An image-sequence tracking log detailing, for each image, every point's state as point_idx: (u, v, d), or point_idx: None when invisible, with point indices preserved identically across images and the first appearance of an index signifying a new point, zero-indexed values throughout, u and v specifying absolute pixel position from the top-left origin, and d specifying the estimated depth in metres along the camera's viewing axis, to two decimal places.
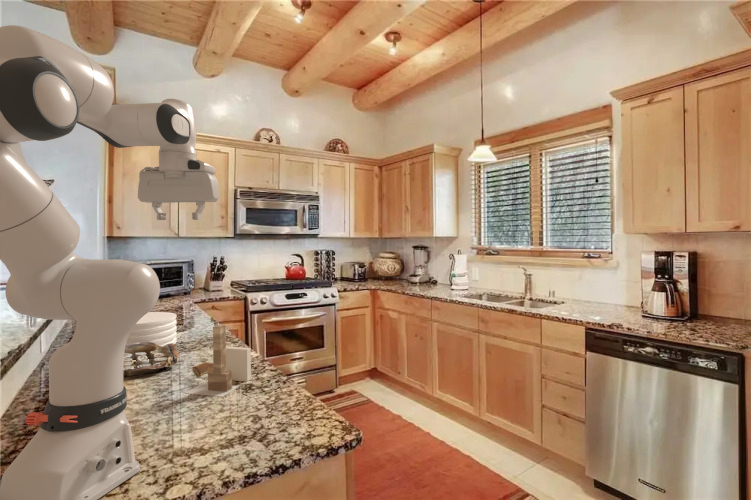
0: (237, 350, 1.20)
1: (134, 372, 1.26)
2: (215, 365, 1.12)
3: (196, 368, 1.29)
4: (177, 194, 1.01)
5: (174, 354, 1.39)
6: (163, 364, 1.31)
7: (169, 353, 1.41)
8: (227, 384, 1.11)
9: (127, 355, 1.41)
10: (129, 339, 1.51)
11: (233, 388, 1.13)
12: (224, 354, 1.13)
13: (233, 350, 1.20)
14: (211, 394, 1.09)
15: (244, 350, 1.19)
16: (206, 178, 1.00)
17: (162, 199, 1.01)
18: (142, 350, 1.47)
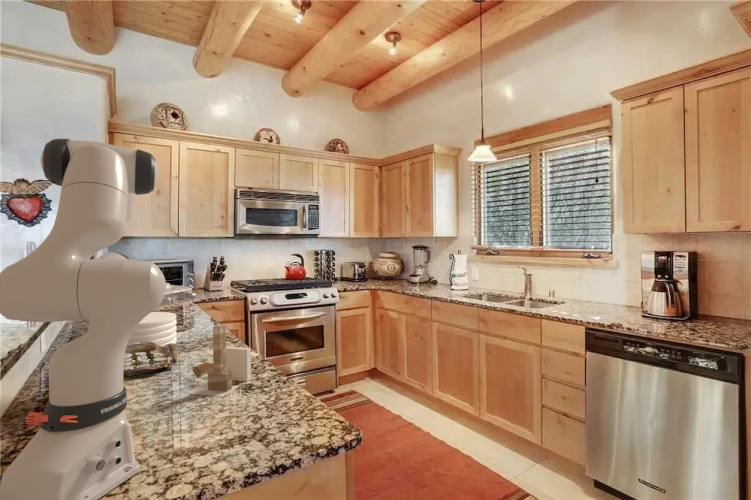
0: (237, 350, 1.20)
1: (133, 372, 1.26)
2: (215, 365, 1.12)
3: (196, 368, 1.29)
4: (167, 291, 1.17)
5: (174, 354, 1.39)
6: (162, 364, 1.31)
7: (169, 353, 1.41)
8: (227, 384, 1.11)
9: (127, 355, 1.41)
10: (129, 339, 1.51)
11: (233, 388, 1.13)
12: (224, 354, 1.13)
13: (233, 350, 1.20)
14: (211, 394, 1.09)
15: (244, 350, 1.19)
16: (176, 285, 1.26)
17: None
18: (142, 350, 1.47)
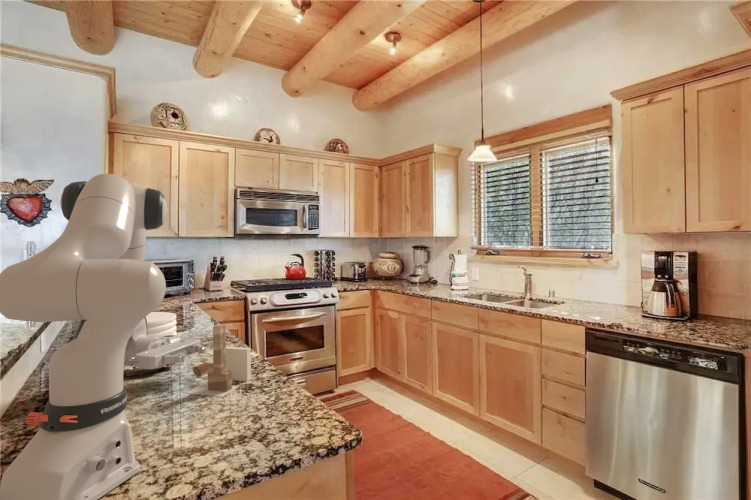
0: (237, 350, 1.20)
1: (132, 372, 1.26)
2: (215, 365, 1.12)
3: (196, 368, 1.29)
4: (176, 346, 1.17)
5: None
6: None
7: None
8: (227, 384, 1.11)
9: None
10: None
11: (233, 388, 1.13)
12: (224, 354, 1.13)
13: (233, 350, 1.20)
14: (211, 394, 1.09)
15: (244, 350, 1.19)
16: (184, 337, 1.25)
17: (170, 350, 1.12)
18: None
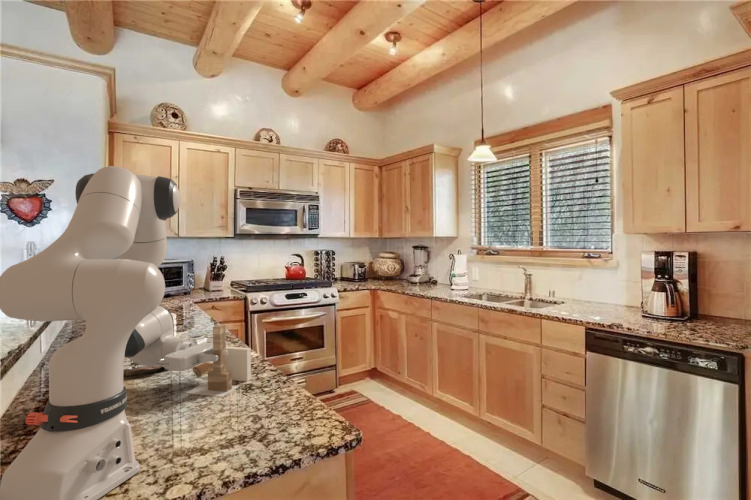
0: (237, 350, 1.20)
1: (131, 372, 1.26)
2: (215, 365, 1.11)
3: (196, 368, 1.29)
4: (204, 347, 1.14)
5: None
6: None
7: None
8: (227, 384, 1.11)
9: None
10: None
11: (233, 388, 1.13)
12: (224, 354, 1.13)
13: (233, 350, 1.20)
14: (211, 394, 1.09)
15: (244, 350, 1.19)
16: (210, 338, 1.23)
17: (198, 351, 1.10)
18: None
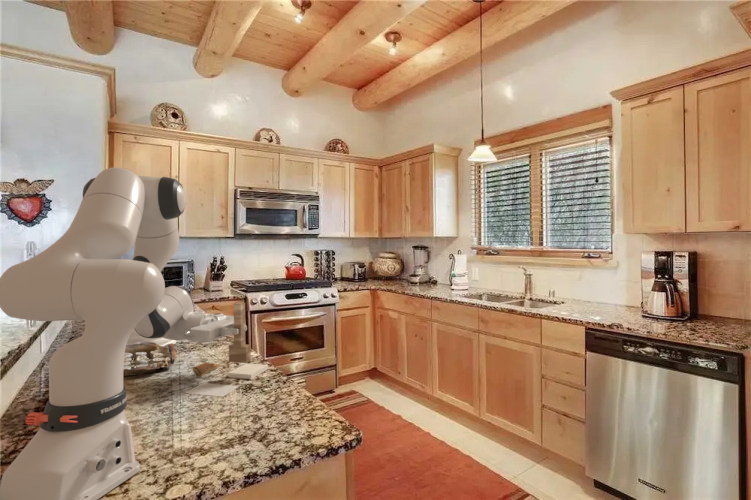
0: (258, 364, 1.31)
1: (130, 372, 1.26)
2: (236, 338, 1.21)
3: (196, 368, 1.29)
4: (225, 322, 1.24)
5: (172, 354, 1.38)
6: (160, 365, 1.30)
7: (168, 353, 1.40)
8: (246, 356, 1.21)
9: (127, 355, 1.42)
10: (129, 339, 1.51)
11: (233, 388, 1.13)
12: (244, 329, 1.23)
13: (254, 364, 1.32)
14: (211, 394, 1.09)
15: (264, 365, 1.31)
16: (229, 315, 1.33)
17: (220, 325, 1.20)
18: (143, 350, 1.47)
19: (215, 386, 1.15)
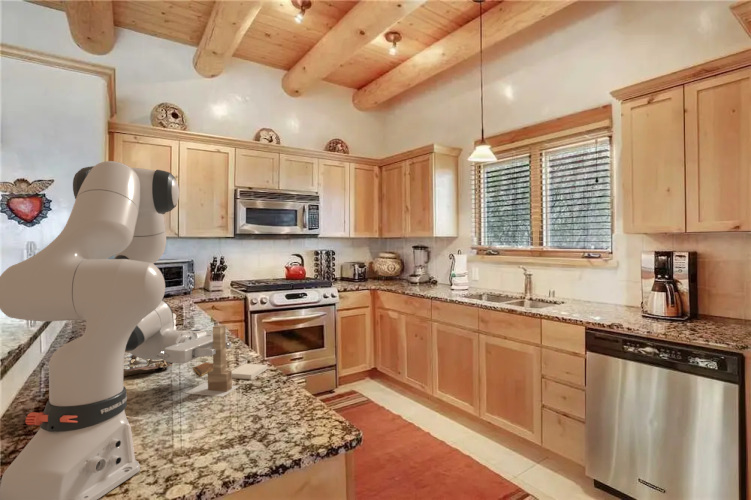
0: (257, 364, 1.31)
1: (129, 372, 1.26)
2: (215, 365, 1.12)
3: (197, 368, 1.29)
4: (204, 340, 1.14)
5: None
6: (158, 365, 1.30)
7: None
8: (227, 384, 1.11)
9: (127, 354, 1.42)
10: None
11: (233, 388, 1.13)
12: (224, 354, 1.13)
13: (253, 364, 1.31)
14: (211, 394, 1.09)
15: (264, 365, 1.31)
16: None
17: (198, 344, 1.10)
18: None
19: None
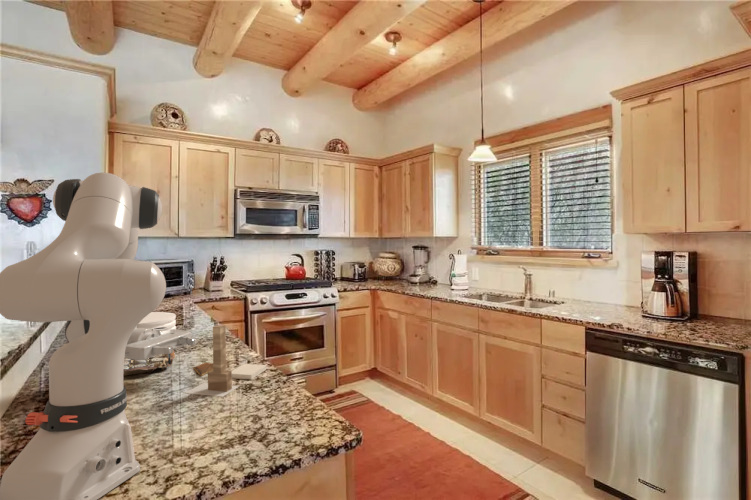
0: (256, 364, 1.31)
1: (128, 372, 1.26)
2: (215, 365, 1.12)
3: (197, 368, 1.30)
4: (166, 338, 1.18)
5: (171, 355, 1.38)
6: (157, 365, 1.30)
7: None
8: (227, 384, 1.11)
9: None
10: None
11: (233, 388, 1.13)
12: (224, 354, 1.13)
13: (252, 364, 1.31)
14: (211, 394, 1.09)
15: (263, 365, 1.31)
16: (175, 329, 1.26)
17: (159, 341, 1.13)
18: None
19: None
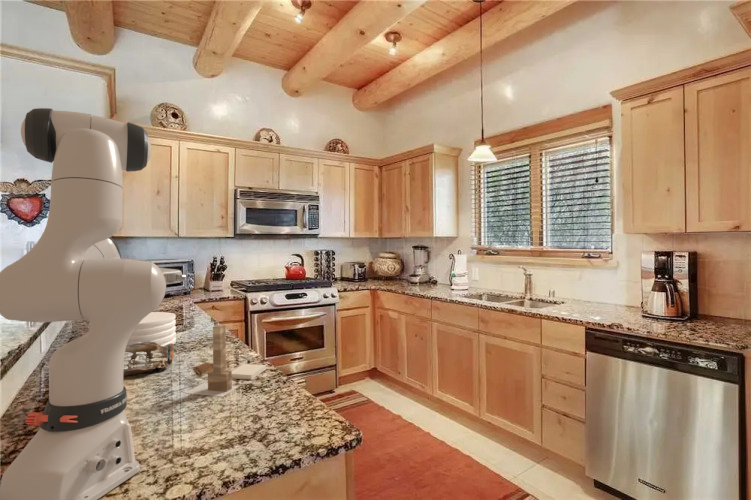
0: (256, 365, 1.31)
1: (127, 372, 1.26)
2: (215, 365, 1.12)
3: (197, 368, 1.30)
4: None
5: (170, 355, 1.38)
6: (156, 365, 1.30)
7: (166, 353, 1.40)
8: (227, 384, 1.11)
9: (128, 354, 1.43)
10: None
11: (233, 388, 1.13)
12: (224, 354, 1.13)
13: (252, 364, 1.31)
14: (211, 394, 1.09)
15: (263, 365, 1.31)
16: (164, 268, 1.20)
17: None
18: (143, 349, 1.47)
19: None
